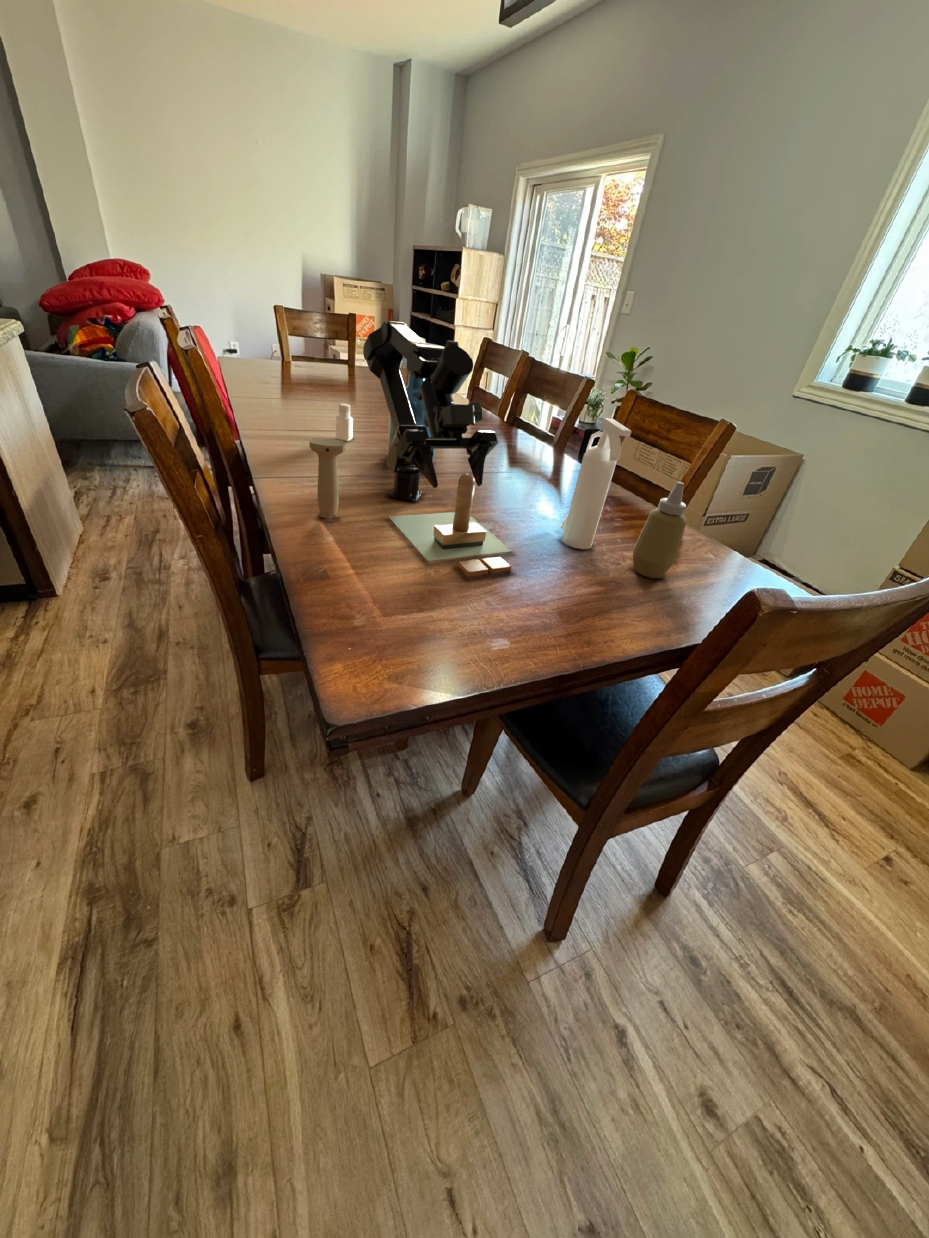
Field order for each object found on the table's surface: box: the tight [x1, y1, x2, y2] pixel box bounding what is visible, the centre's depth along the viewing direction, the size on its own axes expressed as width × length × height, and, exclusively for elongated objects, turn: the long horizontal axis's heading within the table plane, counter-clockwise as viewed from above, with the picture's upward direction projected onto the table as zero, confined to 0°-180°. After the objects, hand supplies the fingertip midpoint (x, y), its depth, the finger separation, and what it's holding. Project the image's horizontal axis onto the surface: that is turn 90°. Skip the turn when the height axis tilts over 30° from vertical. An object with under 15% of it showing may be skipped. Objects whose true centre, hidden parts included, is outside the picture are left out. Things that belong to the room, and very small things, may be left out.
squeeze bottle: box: [632, 481, 687, 579], centre depth 96 cm, size 8×8×18 cm
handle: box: [309, 437, 347, 520], centre depth 97 cm, size 5×6×15 cm
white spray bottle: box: [559, 417, 632, 550], centre depth 102 cm, size 7×12×25 cm, turn 16°
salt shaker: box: [335, 403, 354, 442], centre depth 147 cm, size 4×4×10 cm
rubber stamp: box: [433, 473, 486, 549], centre depth 94 cm, size 9×4×14 cm, turn 117°
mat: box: [387, 511, 513, 562], centre depth 102 cm, size 20×18×1 cm
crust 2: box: [480, 556, 512, 574], centre depth 92 cm, size 4×4×2 cm
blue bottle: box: [386, 337, 437, 463], centre depth 133 cm, size 14×13×30 cm
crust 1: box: [457, 558, 489, 577], centre depth 90 cm, size 4×4×2 cm
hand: (458, 486), depth 95 cm, fingers open, 9 cm apart
